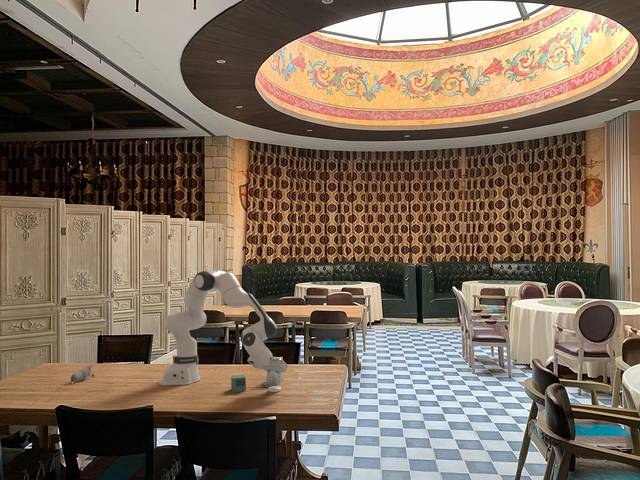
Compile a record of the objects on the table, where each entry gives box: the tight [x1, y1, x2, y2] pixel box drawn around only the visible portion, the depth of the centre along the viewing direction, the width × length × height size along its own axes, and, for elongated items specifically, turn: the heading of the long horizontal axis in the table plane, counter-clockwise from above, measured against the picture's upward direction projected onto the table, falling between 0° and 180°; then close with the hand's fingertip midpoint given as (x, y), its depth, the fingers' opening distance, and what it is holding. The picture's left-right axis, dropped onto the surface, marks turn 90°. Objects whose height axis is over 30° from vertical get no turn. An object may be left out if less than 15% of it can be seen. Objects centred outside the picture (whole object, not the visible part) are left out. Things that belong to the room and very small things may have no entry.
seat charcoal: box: [263, 381, 278, 389], centre depth 270 cm, size 7×7×1 cm
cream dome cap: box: [267, 385, 283, 393], centre depth 261 cm, size 7×7×1 cm
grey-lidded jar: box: [270, 370, 281, 386], centre depth 261 cm, size 5×5×11 cm
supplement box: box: [266, 356, 284, 383], centre depth 279 cm, size 7×7×13 cm
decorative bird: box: [70, 364, 95, 383], centre depth 291 cm, size 5×16×8 cm, turn 164°
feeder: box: [230, 374, 247, 393], centre depth 263 cm, size 7×7×7 cm
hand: (275, 372), depth 262 cm, fingers closed on grey-lidded jar, 5 cm apart
